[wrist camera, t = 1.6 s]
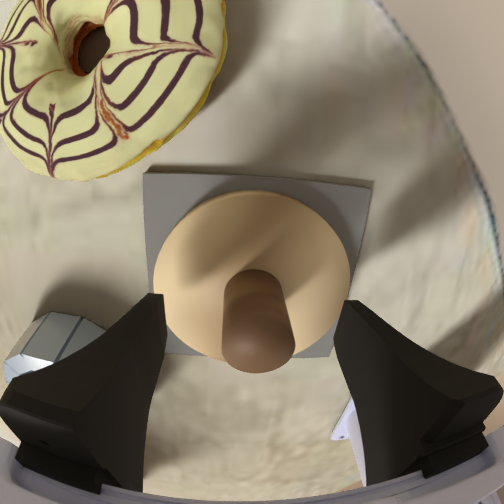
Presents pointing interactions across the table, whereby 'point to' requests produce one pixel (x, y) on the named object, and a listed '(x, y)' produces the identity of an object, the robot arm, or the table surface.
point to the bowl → (49, 343)
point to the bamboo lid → (252, 278)
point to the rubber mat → (212, 184)
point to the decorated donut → (104, 80)
